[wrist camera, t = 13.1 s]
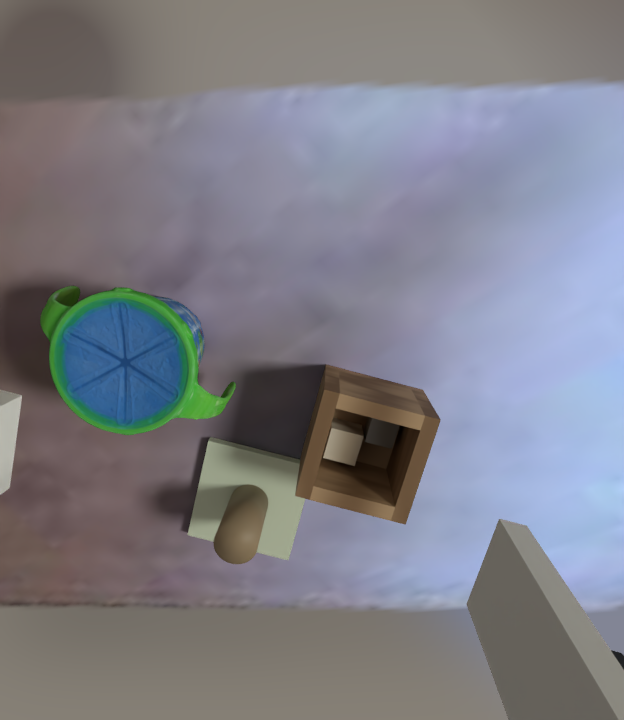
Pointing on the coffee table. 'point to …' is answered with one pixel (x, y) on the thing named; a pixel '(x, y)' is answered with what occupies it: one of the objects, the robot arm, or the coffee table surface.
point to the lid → (246, 502)
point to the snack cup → (127, 359)
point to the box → (366, 445)
